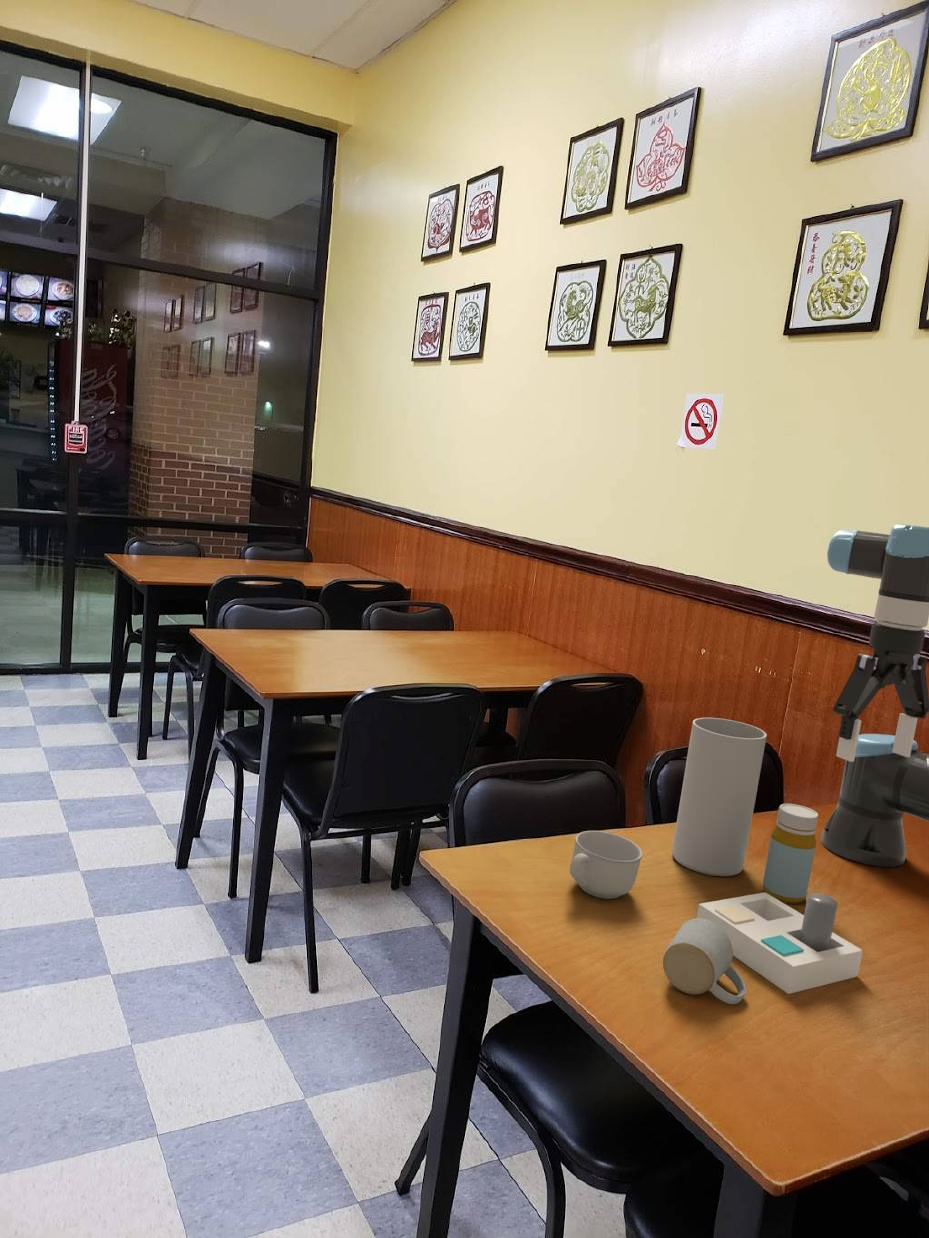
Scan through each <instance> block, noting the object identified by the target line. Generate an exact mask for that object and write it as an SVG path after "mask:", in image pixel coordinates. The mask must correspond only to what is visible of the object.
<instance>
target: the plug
mask: <svg viewBox="0 0 929 1238" xmlns="http://www.w3.org/2000/svg"><path fill="white" fill-rule="evenodd" d="M805 903H806V904H805V909H804V914H803V915H804V918H803V924H802V929H801V934H800V940H799V941H800V942H802V943H804V944H805V945H807V946H808V947H810V948H812V949H813V950H815V951H816V952H821V951H825V950H829V946H830V941H831V936H832V932H833V930H834V924H835V920H836V915H837V909H838V905H839V903H838V901H837V900H836V899H834V898H832V897H831V896H829V895H826V894H822V893H815V892H812V893H808V894H807V896H806V902H805Z"/></svg>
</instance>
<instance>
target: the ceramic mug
mask: <svg viewBox="0 0 929 1238" xmlns="http://www.w3.org/2000/svg"><path fill="white" fill-rule="evenodd" d="M733 957H734V956H733V948H732V945H731V941H730V939H729V937H728V936H727V934H726V933H725V932H724V931H723V930H722V928H720V927H719V926H718V925H717V924H715V923H714V922H711V921H709V920H706V919H699V918H697V917H696V918H692V919H689V920H687V921H686V922H684V923H683V924H682V926H681V927H680V928H679V930H678V931H677V932H676V934H675V936H673V938H672V940H671V941H670V943H669V944H668V946H667V947H666V948H665V951H664V955H663V958H662V959H663V960H662V967H663V971H664V974H665V976H666V978H667V981H668V982H670V984H671V985H672V986H673V987H675V989H677V990H678V991H681V992H682V993H685V994H687V995H693V996H694V995H702V994H704V993H707V992H710V993H711V994H712V995H713V996H715V997H716V999H718V1000H720V1001H721V1002H723V1003H726V1004H729V1005H737V1004H739V1003H740V1002H741V1001H742V1000H743V999H744V997H745V996H746V994H747V985H746V984H745V981H744V979H743V978H742V976H741V974H740V973H739V972H738V971H737V970H736V968H734V967H733V965H731V963H732V960H733V959H734V958H733ZM723 974H724V975H725V976H726V977H727V978H728V979H729V980H730V981H731V983H732V984H733V985H734V987H735V989H736V990H737V993H738V994H737V995H734V994H732V993H729V992H728V991H726V990H725V989H724V988H722V987H721V986H720V985H719V984H718V981H719V980H720V979H721V977H722V976H723Z"/></svg>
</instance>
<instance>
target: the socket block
mask: <svg viewBox="0 0 929 1238" xmlns="http://www.w3.org/2000/svg"><path fill="white" fill-rule="evenodd" d="M697 918H699V919H706V920H709V921H711V922H714V923H715V924H717V925H718V926H719V927H720V928H722V930H723V931H724V932H725V933H726V934H727V936H728V937H729V939H730V941H731V945H732V948H733V957H734V958H736V959H737V960H739V961H741V962H742V963H744V964H745V965H746V966H747V967H749V968H751V970H753V971H755V972H757V974H759V975H761V976H762V977H763V978H765V979H766V980H767V981H769V982H770V983H772V984H773V985H775V986H776V987H777V988H779V989H780V990H781V991H783V992H784V993H786V994H788V995H790V994H794V993H799V992H802V991H805V990H809V989H810V990H811V989H814V988H817V987H822V986H825V985H829V984H834V983H837V982H842V981H845V980H849V979H854V978H857V977H858V976H859V972H860V971H859V970H860V967H861V966H860V965H861V961H862V958H863V957H862V956H863V952H864V951H863V949H861V948H860V947H858V946H856V945H855V944H853V943H851V942H850V941H847V940H846V939H844V938H843V937H841V936H839V935H838V934H836V933H835V932H833V931H832V936H831V941H830V946H829V950H825V951H821V952H816V951H815V950H813V949H812V948H810V947H808V946H807V945H805V944H804V943H802V942H800V941H799V940H800V934H801V929H802V924H803V918H804V914H802V913H801V912H799V911H797V910H796V909H794V908H792V907H790V906H789V905H788V904H787V903H783V902H781V901H779V900H777V899H776V898H774V897H772V896H771V895H769V894H767V893H766V892H765V891H764V892H760V893H754V894H747V895H743V896H738V897H731V898H724V899H720V900H714V901H707V902H702V903H699V904H698V909H697V914H696V919H697Z"/></svg>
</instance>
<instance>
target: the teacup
mask: <svg viewBox="0 0 929 1238" xmlns="http://www.w3.org/2000/svg"><path fill="white" fill-rule="evenodd" d="M574 840H575V844H574V849H573V854H572V858H571V863H570V866H569V873H570V875H571V878H573V880H574V881H575V882H576V883H577V884H578V886H579V887H580V888H581V889H582V890H583V891H584V892H585V893H587V894H588V895H591V896H592V897H596V898H598V899H599V898H601V899H605V900H609V899H617V898H619V897H621V896H624V895H626V894H627V893H629V892H630V891H631V890H632V889H633V887H634V886H635V883H636V880H637V876H638V872H639V868H640V863H641V860H642V858H643V856H644V855H643V851H642V849H641V847H640V846H639V845H637V844H636V843H635V842H633V841H632V840H631V839H629V838H626V837H624V836H622V835H619V834H616V833H611V832H607V831H603V830H602V831H601V830H586V831H585V830H584V831H581V832H579V833H577V834H576V835H575V839H574Z"/></svg>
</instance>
